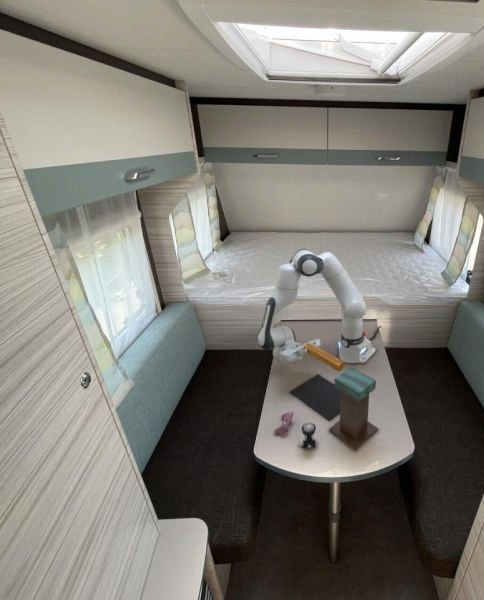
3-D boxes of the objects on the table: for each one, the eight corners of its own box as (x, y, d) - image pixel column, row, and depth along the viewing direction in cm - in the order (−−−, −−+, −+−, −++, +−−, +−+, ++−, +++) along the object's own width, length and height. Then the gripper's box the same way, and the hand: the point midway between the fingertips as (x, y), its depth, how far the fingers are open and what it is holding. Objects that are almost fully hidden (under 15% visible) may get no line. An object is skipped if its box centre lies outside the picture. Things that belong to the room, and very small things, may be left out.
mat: (317, 375, 167) (317, 374, 167) (356, 399, 150) (356, 398, 150) (290, 392, 155) (290, 391, 155) (329, 420, 139) (329, 419, 138)
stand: (351, 413, 143) (353, 363, 132) (377, 430, 134) (381, 379, 123) (329, 431, 133) (329, 379, 123) (355, 450, 125) (357, 397, 114)
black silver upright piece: (298, 451, 124) (297, 432, 120) (299, 440, 129) (298, 421, 125) (316, 450, 125) (315, 431, 120) (316, 439, 129) (315, 420, 125)
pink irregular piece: (283, 438, 132) (289, 428, 128) (273, 433, 132) (279, 422, 128) (290, 420, 140) (297, 410, 137) (281, 415, 140) (287, 405, 137)
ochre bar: (309, 348, 152) (309, 342, 151) (344, 368, 138) (344, 362, 137) (303, 351, 149) (303, 345, 148) (338, 371, 136) (338, 365, 134)
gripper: (312, 348, 165) (329, 346, 155) (280, 366, 152) (296, 364, 141) (308, 337, 165) (325, 334, 155) (275, 353, 151) (291, 351, 141)
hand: (311, 348), depth 148 cm, fingers closed on ochre bar, 3 cm apart
